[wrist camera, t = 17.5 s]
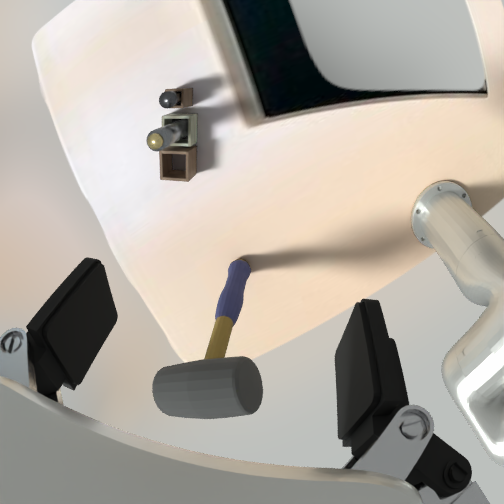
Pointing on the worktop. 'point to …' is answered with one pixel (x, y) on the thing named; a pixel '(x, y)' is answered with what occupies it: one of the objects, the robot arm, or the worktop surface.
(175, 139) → the gray yellow-capped cylinder
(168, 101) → the round dark gray knob
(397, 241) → the worktop surface
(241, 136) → the worktop surface
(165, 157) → the compartment holder
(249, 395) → the rubber mallet
